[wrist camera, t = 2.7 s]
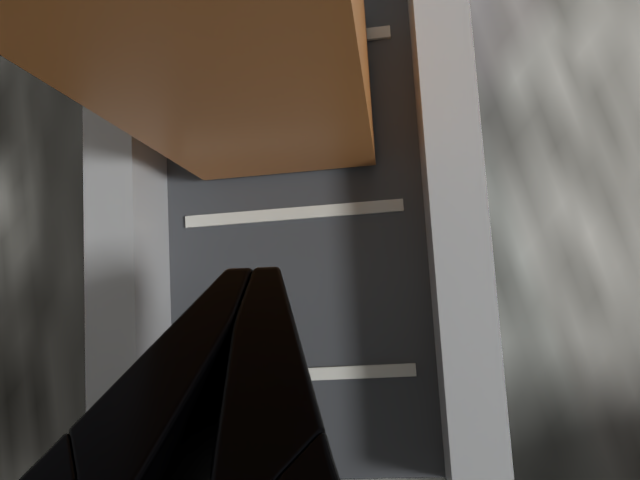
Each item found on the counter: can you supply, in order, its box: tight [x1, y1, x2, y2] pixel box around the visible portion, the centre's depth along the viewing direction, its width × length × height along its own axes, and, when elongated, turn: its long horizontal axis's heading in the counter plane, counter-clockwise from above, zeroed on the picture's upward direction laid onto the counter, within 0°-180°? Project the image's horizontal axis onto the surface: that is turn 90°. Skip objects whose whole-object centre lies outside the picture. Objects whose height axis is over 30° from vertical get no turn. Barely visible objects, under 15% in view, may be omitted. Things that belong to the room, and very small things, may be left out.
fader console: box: [82, 0, 514, 480], centre depth 15 cm, size 19×9×4 cm, turn 3°
